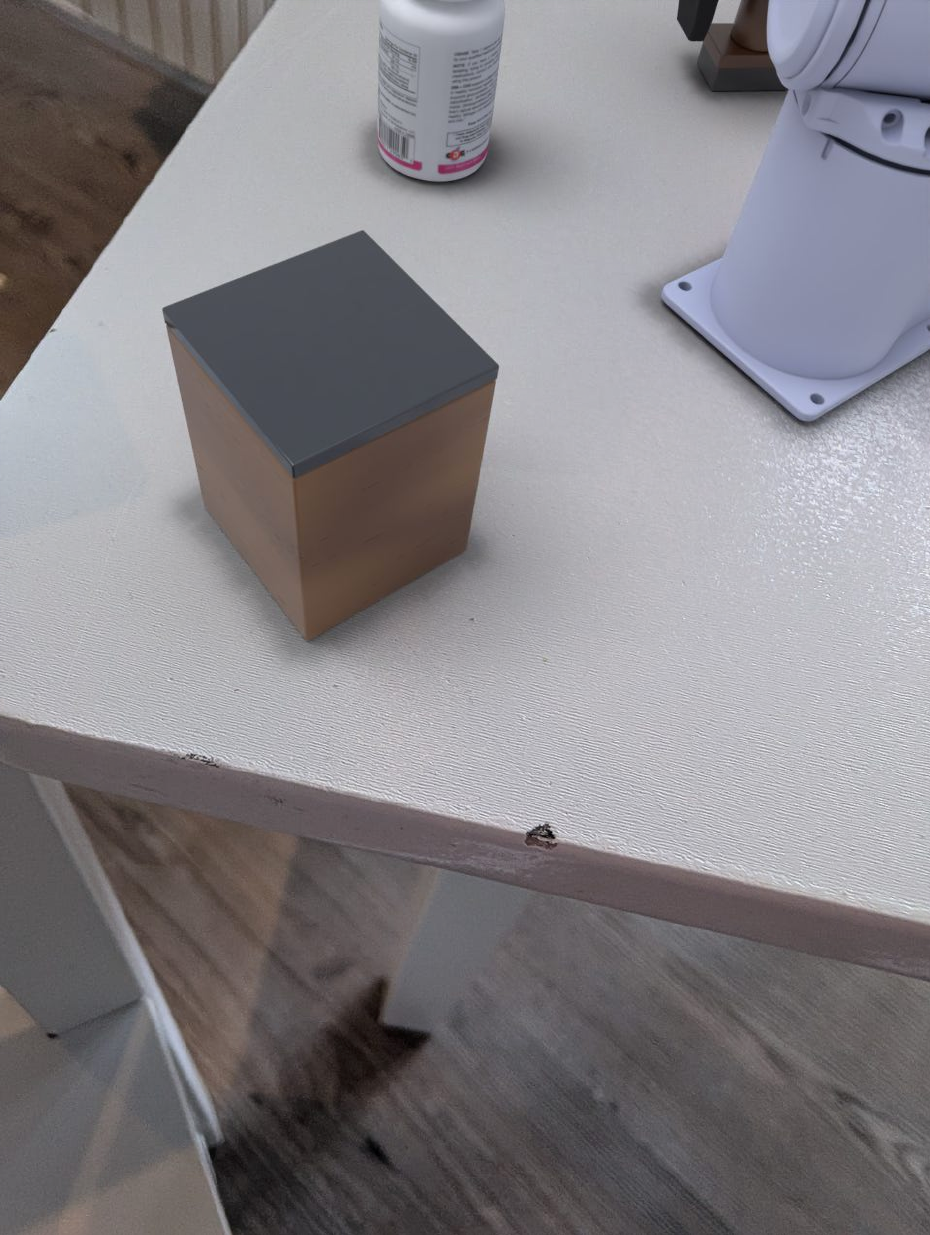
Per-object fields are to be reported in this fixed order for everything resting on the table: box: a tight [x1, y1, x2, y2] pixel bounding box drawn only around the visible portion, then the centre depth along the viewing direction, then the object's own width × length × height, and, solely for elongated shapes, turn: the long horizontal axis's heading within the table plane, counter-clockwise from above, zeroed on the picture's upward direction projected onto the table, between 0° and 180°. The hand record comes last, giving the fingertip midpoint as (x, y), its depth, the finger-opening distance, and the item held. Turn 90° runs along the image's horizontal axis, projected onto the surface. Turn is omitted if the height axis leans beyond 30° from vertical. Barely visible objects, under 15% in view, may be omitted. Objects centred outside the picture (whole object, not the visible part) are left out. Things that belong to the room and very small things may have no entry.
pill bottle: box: [376, 0, 506, 182], centre depth 38 cm, size 5×5×8 cm
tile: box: [161, 229, 500, 479], centre depth 24 cm, size 6×6×1 cm
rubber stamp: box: [696, 0, 789, 92], centre depth 45 cm, size 4×3×5 cm, turn 101°
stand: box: [165, 324, 497, 642], centre depth 27 cm, size 6×6×8 cm
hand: (758, 30), depth 45 cm, fingers open, 6 cm apart
